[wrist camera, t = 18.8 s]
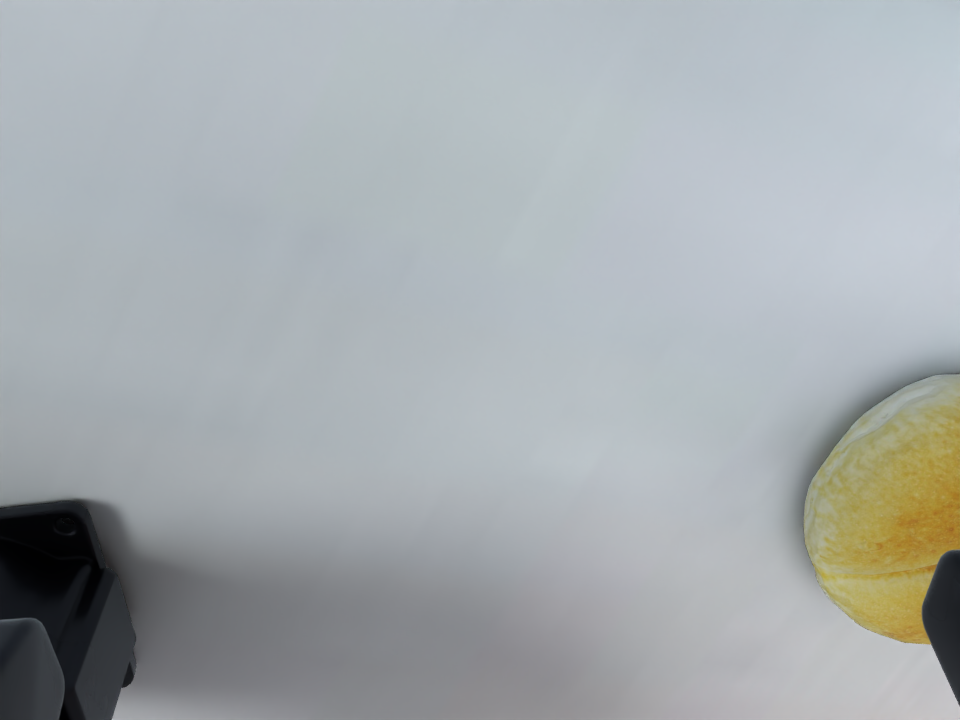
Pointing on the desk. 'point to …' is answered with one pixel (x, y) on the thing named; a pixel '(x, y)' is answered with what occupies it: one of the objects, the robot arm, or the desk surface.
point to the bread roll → (889, 508)
